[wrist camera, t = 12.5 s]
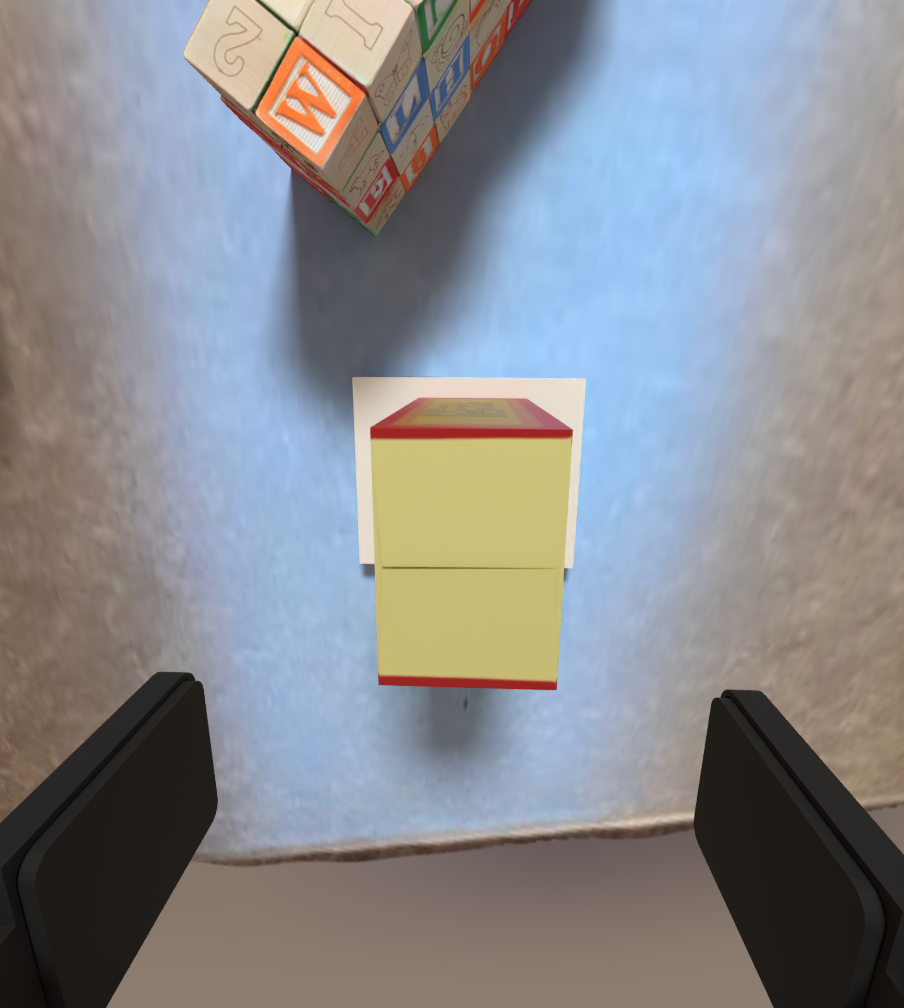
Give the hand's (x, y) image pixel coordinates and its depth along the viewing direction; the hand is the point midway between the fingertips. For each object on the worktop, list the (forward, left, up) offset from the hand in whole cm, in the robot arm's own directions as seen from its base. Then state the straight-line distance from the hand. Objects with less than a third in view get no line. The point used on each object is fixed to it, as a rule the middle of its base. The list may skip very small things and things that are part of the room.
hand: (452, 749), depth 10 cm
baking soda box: (0, 0, -25) cm, 25 cm away
